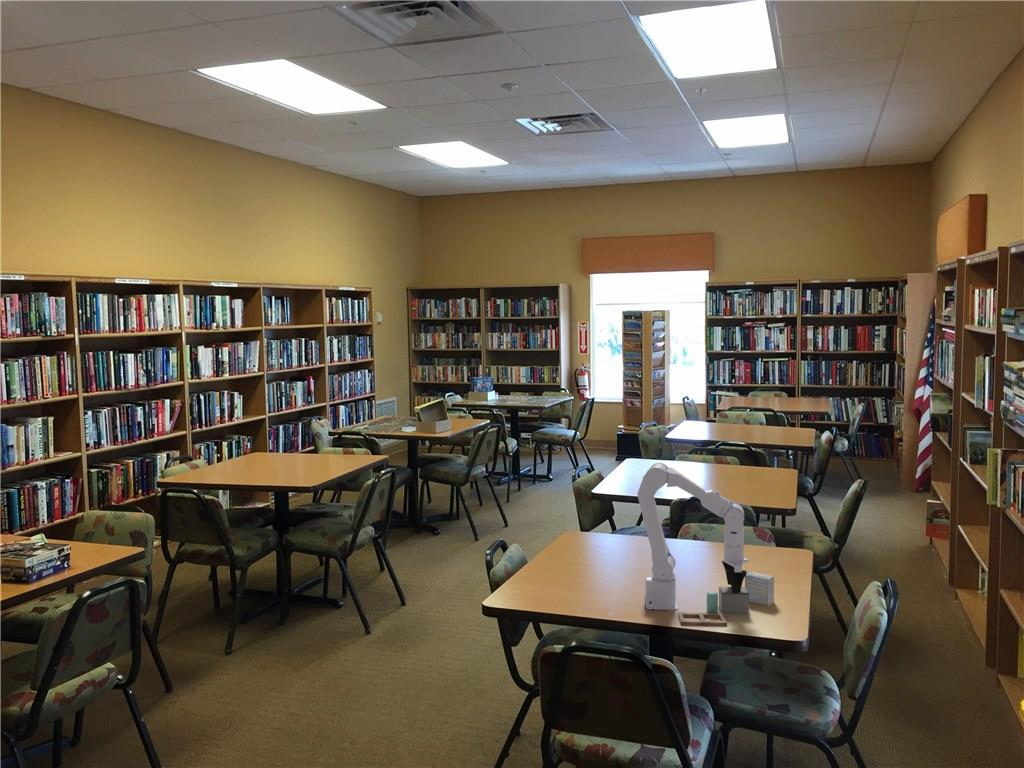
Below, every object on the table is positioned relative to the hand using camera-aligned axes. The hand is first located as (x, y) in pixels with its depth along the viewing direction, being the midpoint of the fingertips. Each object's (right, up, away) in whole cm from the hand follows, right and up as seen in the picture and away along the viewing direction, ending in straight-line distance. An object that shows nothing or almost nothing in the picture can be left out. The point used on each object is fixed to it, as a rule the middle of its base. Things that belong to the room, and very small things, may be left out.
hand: (733, 588), depth 241 cm
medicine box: (+10, -7, +9) cm, 15 cm away
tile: (0, -7, +1) cm, 7 cm away
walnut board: (-11, -8, -7) cm, 15 cm away
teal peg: (-7, -7, 0) cm, 10 cm away
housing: (0, -7, 0) cm, 7 cm away
